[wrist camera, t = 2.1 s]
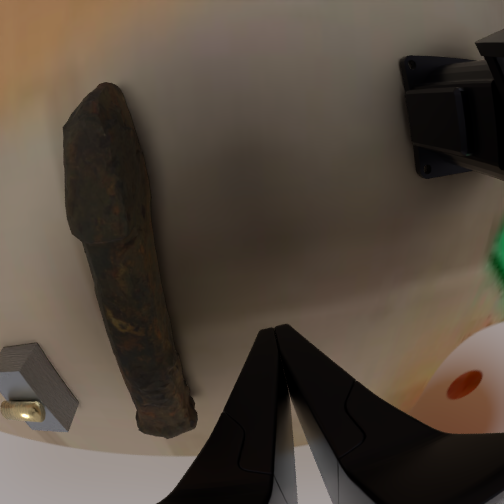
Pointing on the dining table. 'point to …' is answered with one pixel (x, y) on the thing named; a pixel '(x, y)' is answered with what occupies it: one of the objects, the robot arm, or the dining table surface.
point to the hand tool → (124, 257)
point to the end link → (34, 390)
